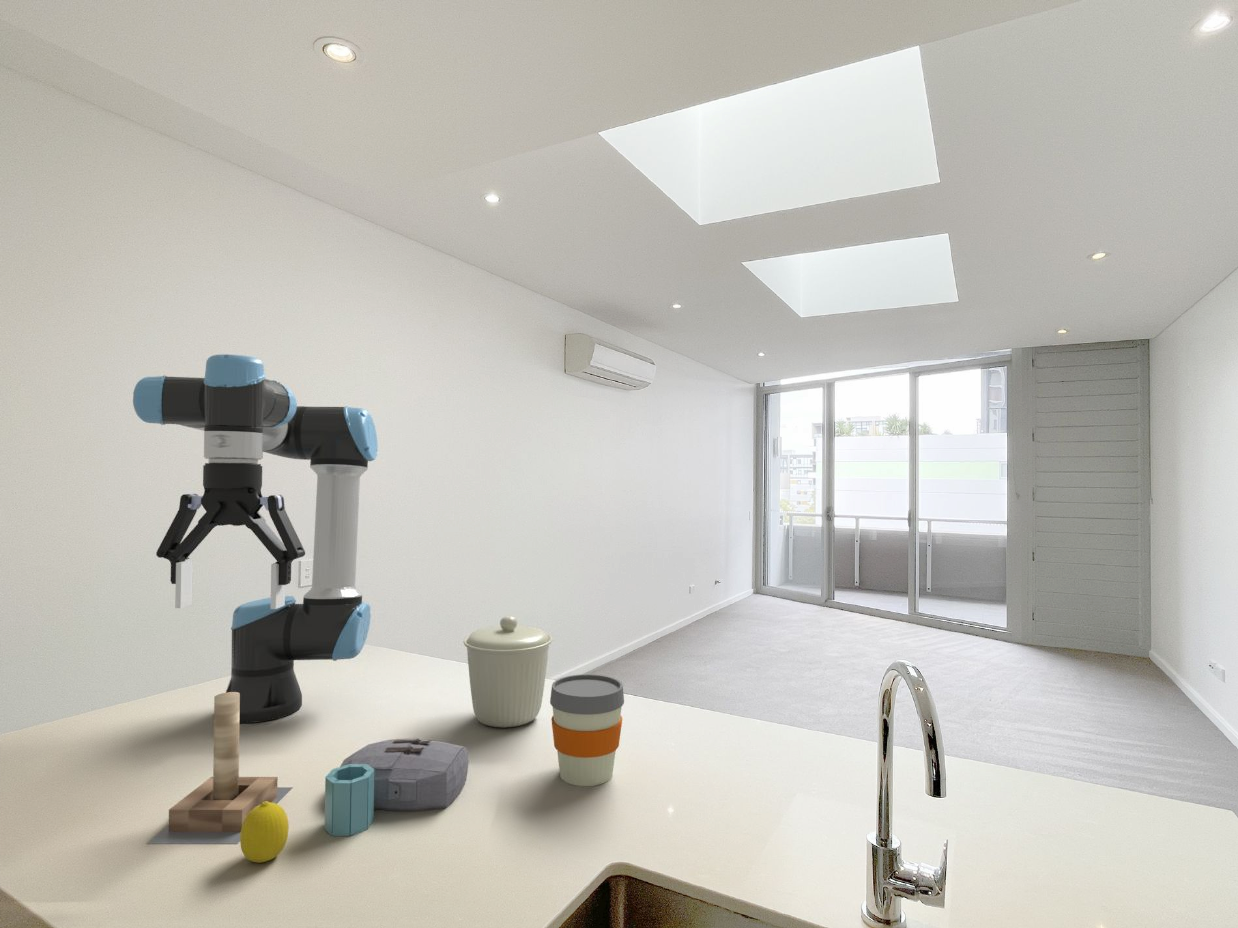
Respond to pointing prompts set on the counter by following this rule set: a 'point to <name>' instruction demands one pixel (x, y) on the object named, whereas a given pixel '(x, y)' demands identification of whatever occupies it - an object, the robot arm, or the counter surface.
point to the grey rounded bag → (414, 773)
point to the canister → (507, 672)
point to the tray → (206, 837)
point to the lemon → (264, 832)
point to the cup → (349, 799)
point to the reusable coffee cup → (586, 726)
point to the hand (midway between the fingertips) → (230, 607)
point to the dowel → (226, 746)
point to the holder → (220, 806)
